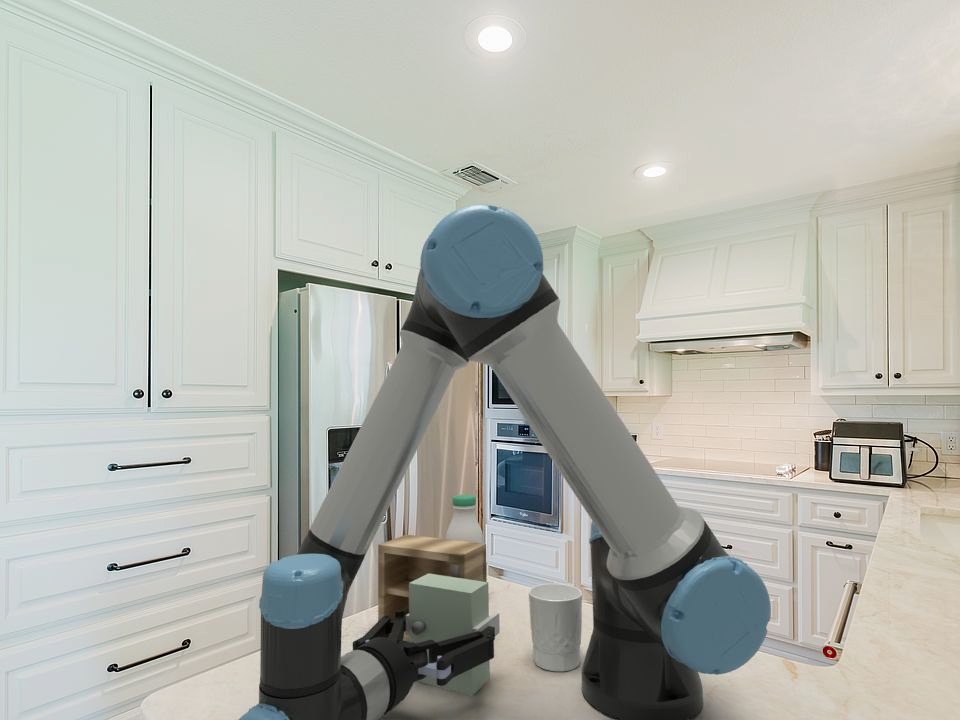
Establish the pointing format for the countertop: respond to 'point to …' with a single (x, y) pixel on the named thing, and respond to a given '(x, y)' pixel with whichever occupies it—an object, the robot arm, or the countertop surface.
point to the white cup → (556, 626)
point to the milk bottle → (464, 520)
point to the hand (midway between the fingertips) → (464, 616)
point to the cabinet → (423, 567)
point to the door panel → (449, 620)
